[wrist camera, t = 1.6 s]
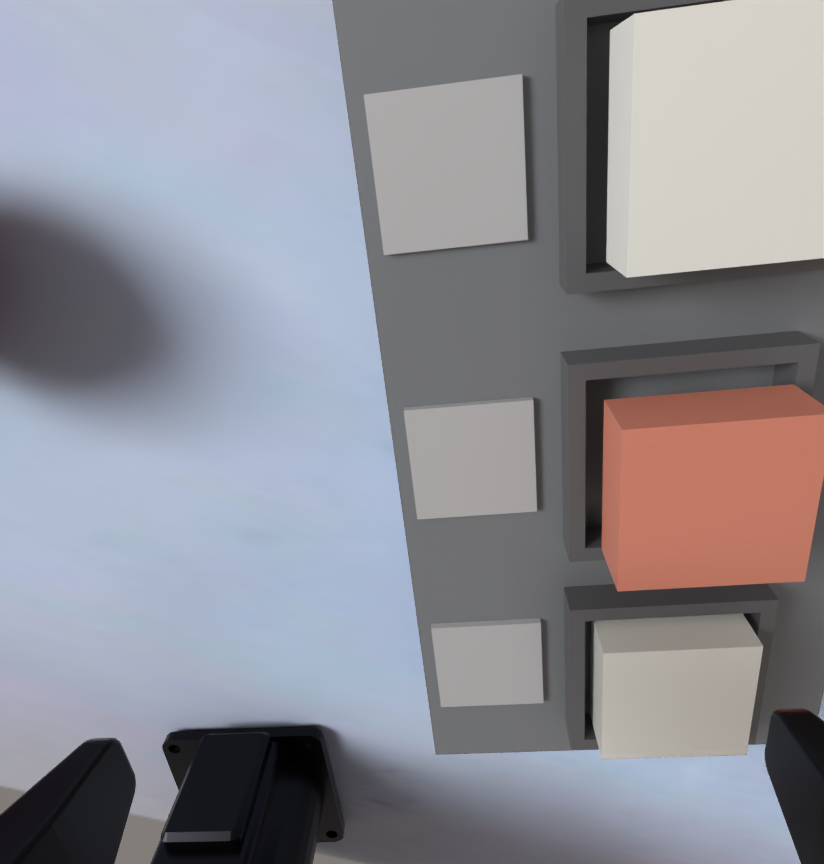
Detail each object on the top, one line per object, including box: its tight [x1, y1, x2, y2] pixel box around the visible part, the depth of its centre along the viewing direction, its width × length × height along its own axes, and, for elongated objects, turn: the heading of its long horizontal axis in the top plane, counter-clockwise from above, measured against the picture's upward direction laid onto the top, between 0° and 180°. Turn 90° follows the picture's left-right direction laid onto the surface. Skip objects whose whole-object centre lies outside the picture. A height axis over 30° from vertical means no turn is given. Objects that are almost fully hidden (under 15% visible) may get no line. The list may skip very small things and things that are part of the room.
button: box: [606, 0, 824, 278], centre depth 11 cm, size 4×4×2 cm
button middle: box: [602, 384, 824, 592], centre depth 14 cm, size 4×4×2 cm
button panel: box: [332, 0, 824, 755], centre depth 17 cm, size 22×12×4 cm, turn 6°
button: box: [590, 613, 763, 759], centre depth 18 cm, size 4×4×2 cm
